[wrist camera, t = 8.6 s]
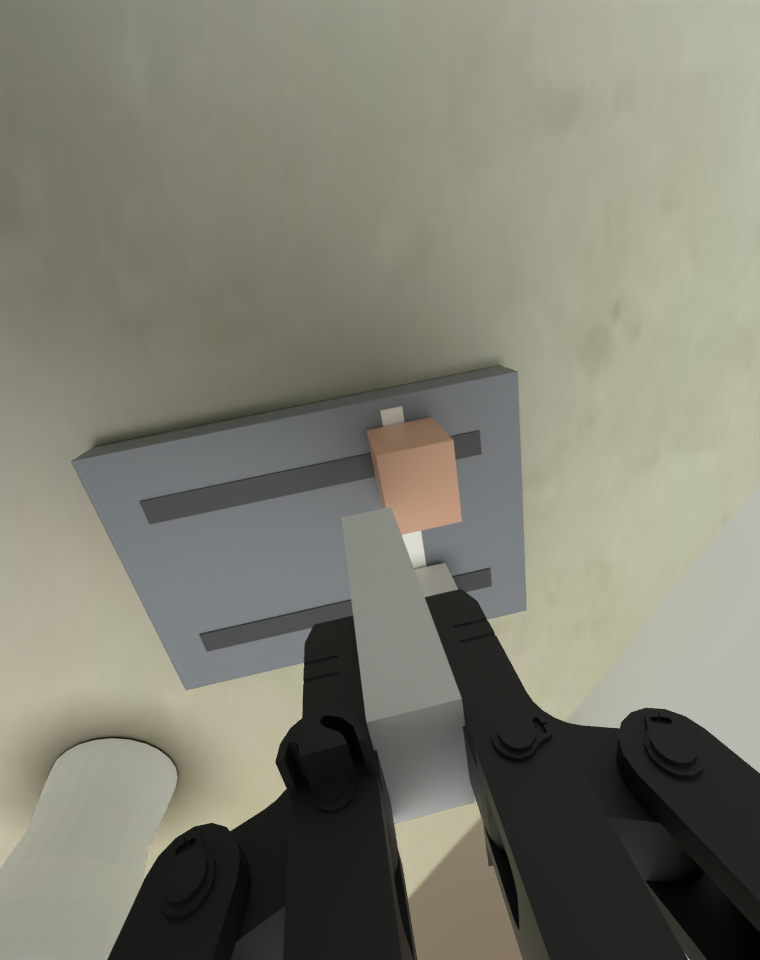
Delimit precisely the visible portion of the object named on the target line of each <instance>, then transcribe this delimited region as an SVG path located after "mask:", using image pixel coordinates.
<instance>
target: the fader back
mask: <svg viewBox="0 0 760 960" xmlns="http://www.w3.org/2000/svg"><path fill="white" fill-rule="evenodd" d="M415 573H416V576H417V578H418V581H419V584H420V586H421V589H422V592H423V595H424V597H428V596H432V595H436V594H441V593H445V592H449V591H453V590H458V588H457V586H456V584H455V582H454V580H453V578H452V575H451V573H450V571H449V569H448V567H447V565H446V563H442V564H437V565H433V566H429V567H424V568H420V569H415Z"/></svg>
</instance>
